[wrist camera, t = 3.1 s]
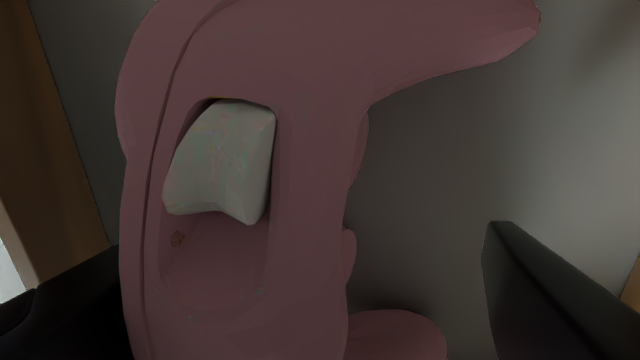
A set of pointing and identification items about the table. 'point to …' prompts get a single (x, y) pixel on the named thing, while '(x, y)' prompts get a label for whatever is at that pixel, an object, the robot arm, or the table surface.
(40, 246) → the wooden box
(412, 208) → the table surface
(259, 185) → the video game controller
